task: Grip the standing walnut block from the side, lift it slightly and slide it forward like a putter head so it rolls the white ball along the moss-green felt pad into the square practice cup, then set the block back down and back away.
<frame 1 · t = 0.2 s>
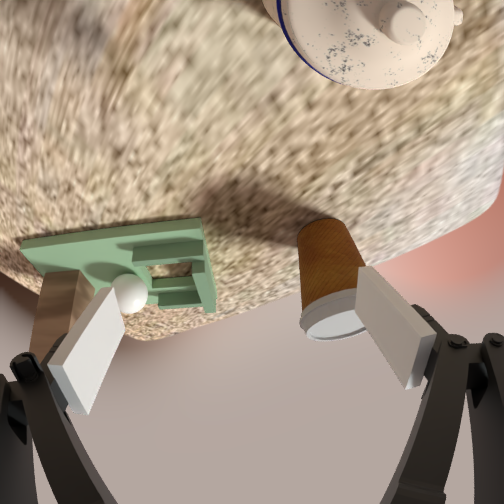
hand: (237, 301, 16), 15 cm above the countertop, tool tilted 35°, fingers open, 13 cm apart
ball: (128, 293, 37), point 4 cm above the countertop, touching pad
pad: (121, 267, 39), on the countertop
walnut block: (70, 281, 38), point 1 cm above the countertop, touching pad
disposable coffee cup: (321, 233, 38), on the countertop
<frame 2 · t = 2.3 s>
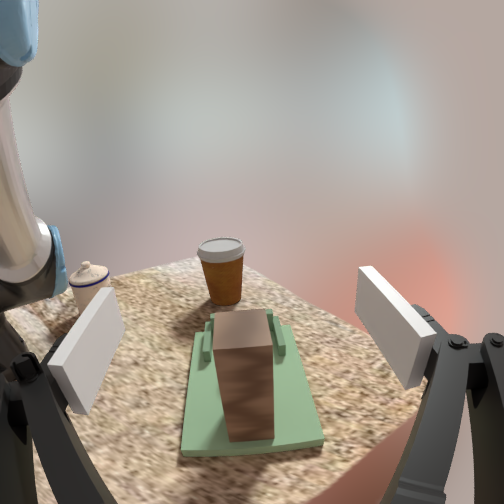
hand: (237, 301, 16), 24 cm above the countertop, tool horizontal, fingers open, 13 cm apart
pad: (247, 385, 41), on the countertop
teacup with lid: (100, 310, 62), on the countertop
walnut block: (250, 421, 33), point 1 cm above the countertop, touching pad
disposable coffee cup: (226, 299, 65), on the countertop
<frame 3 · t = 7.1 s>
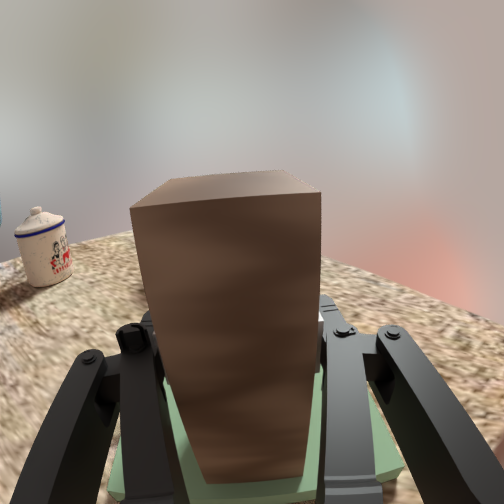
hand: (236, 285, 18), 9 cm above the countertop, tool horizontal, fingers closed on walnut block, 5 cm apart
pad: (245, 370, 23), on the countertop
teacup with lid: (55, 274, 45), on the countertop
walnut block: (250, 439, 15), point 1 cm above the countertop, touching gripper, pad
when the fingers open (9 cm above the countertop, at t = 12.3 s): walnut block stays where it is, resting on pad.
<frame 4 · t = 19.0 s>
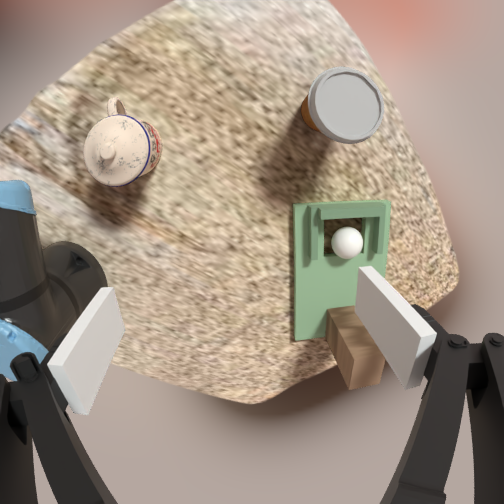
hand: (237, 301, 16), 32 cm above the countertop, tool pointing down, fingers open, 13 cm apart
ball: (347, 242, 47), point 2 cm above the countertop, tilted 117°
pad: (340, 271, 51), on the countertop
teacup with lid: (133, 138, 42), on the countertop
walnut block: (339, 321, 53), point 1 cm above the countertop, touching pad
disposable coffee cup: (321, 111, 42), on the countertop
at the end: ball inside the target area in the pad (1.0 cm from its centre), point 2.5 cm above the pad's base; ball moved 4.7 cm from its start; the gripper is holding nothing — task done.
